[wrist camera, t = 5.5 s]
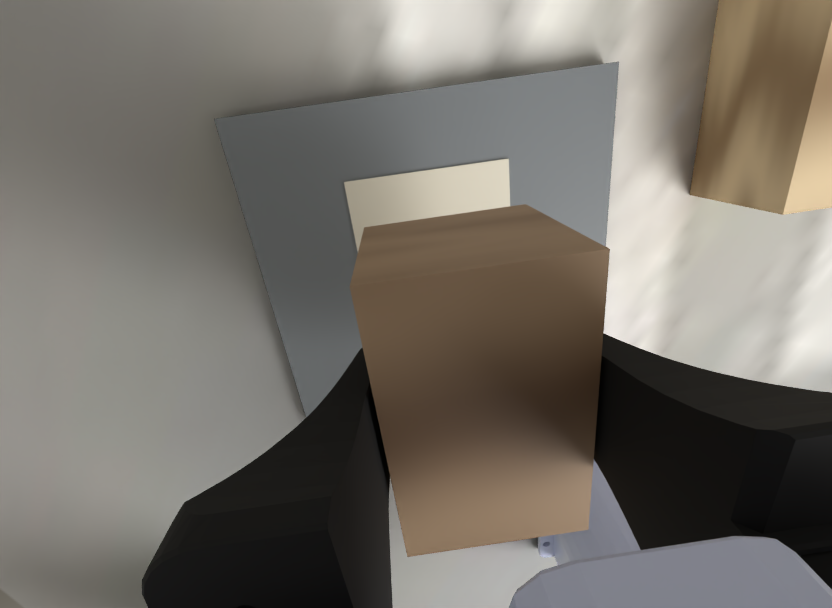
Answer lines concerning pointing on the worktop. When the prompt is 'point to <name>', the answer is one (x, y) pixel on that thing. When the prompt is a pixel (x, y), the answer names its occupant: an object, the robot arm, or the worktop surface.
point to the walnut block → (484, 372)
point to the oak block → (768, 107)
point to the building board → (407, 185)
